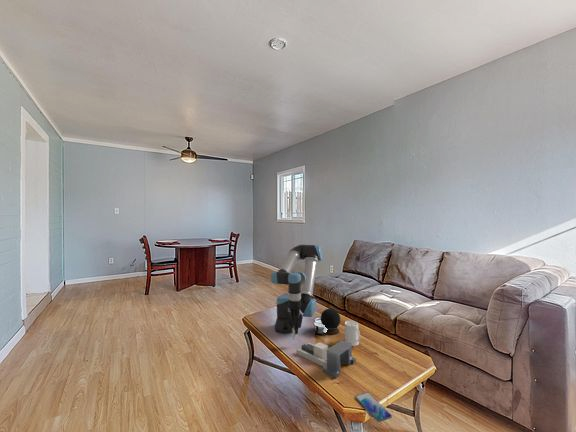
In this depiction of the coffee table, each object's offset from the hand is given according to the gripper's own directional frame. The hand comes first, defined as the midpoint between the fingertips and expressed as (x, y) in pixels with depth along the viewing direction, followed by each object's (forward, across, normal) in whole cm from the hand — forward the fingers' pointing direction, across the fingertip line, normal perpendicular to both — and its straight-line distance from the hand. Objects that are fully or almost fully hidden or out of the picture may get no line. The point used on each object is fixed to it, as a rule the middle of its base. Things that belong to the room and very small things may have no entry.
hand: (295, 338), depth 158 cm
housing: (+5, +31, 0) cm, 31 cm away
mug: (+5, +24, +26) cm, 36 cm away
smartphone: (+6, +56, -14) cm, 58 cm away
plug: (+5, +14, 0) cm, 15 cm away
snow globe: (+5, +4, +32) cm, 32 cm away
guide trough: (+5, +17, 0) cm, 18 cm away
